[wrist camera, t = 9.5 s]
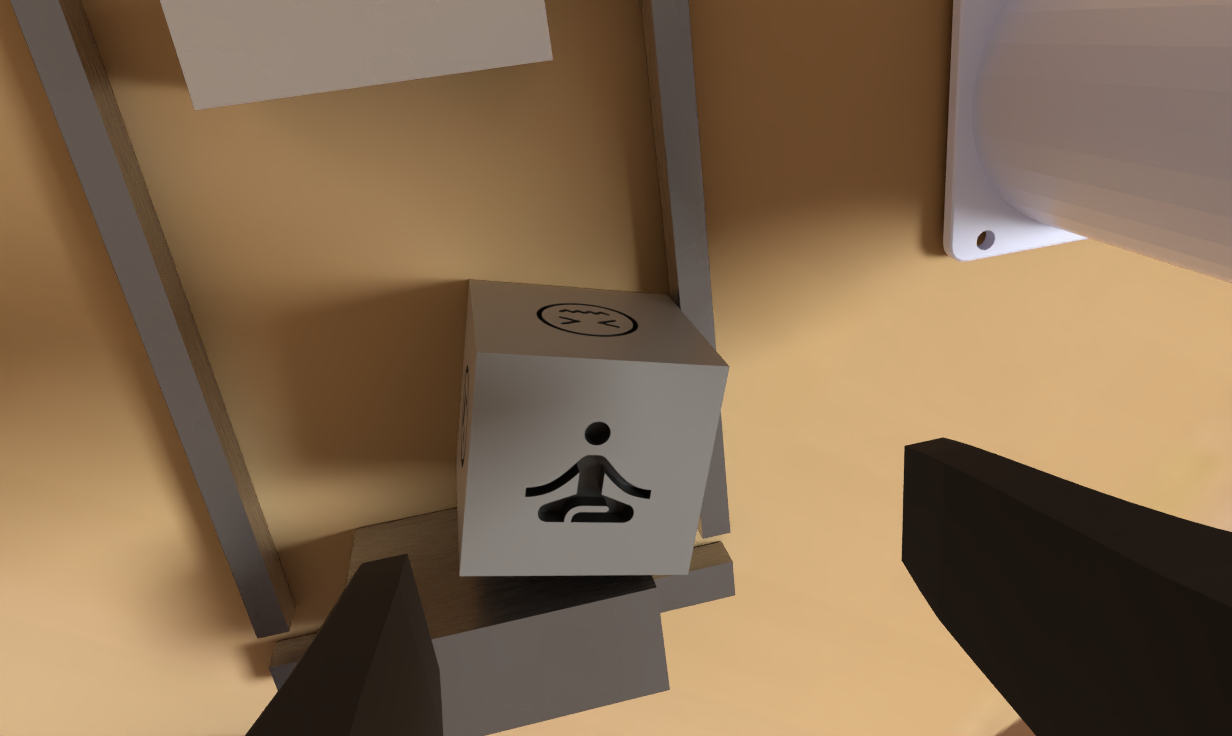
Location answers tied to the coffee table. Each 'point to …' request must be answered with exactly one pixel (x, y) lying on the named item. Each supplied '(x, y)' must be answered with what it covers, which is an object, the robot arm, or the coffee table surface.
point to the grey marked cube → (582, 432)
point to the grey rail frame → (453, 605)
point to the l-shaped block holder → (344, 43)
